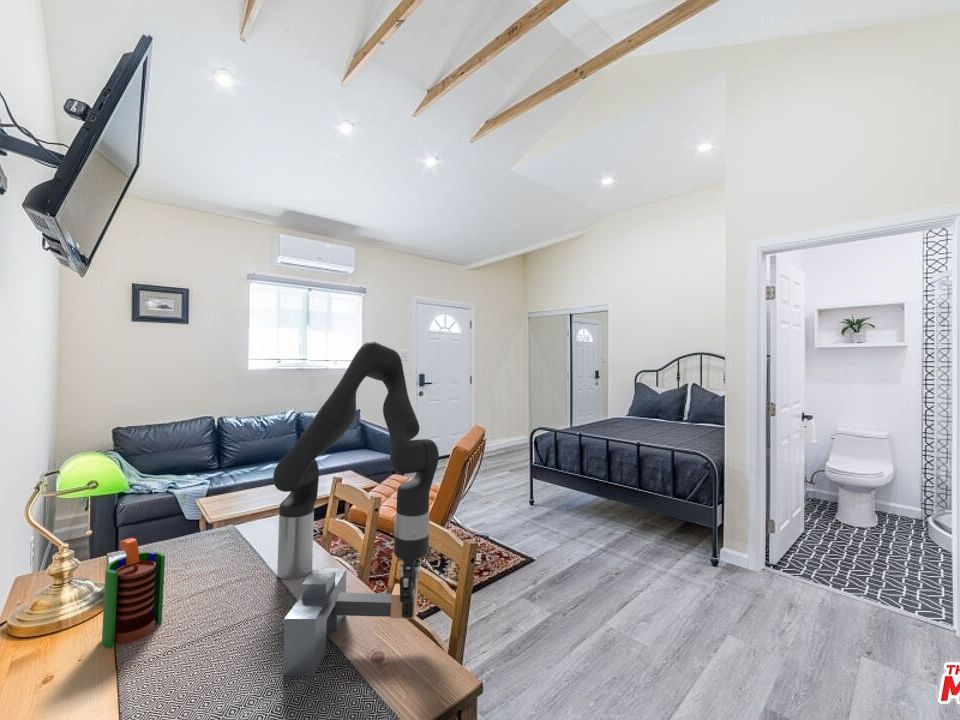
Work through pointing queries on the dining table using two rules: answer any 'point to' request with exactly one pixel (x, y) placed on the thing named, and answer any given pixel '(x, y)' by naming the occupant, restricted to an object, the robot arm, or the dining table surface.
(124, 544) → the motor
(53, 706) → the dining table surface
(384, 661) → the dining table surface
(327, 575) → the housing
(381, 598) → the plug
